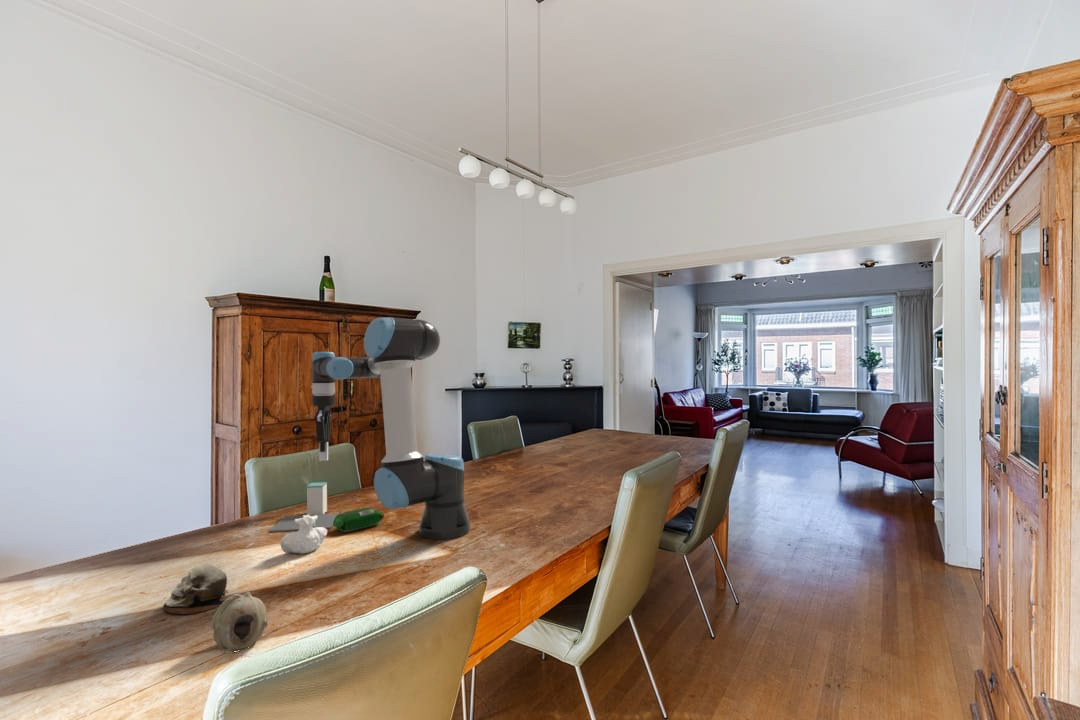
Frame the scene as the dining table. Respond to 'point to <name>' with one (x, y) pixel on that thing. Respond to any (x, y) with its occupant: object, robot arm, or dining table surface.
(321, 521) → the rubber mat
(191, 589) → the skull
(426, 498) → the robot arm
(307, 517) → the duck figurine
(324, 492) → the tall block
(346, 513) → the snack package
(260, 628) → the grey-brown rounded hollow piece
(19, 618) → the dining table surface
